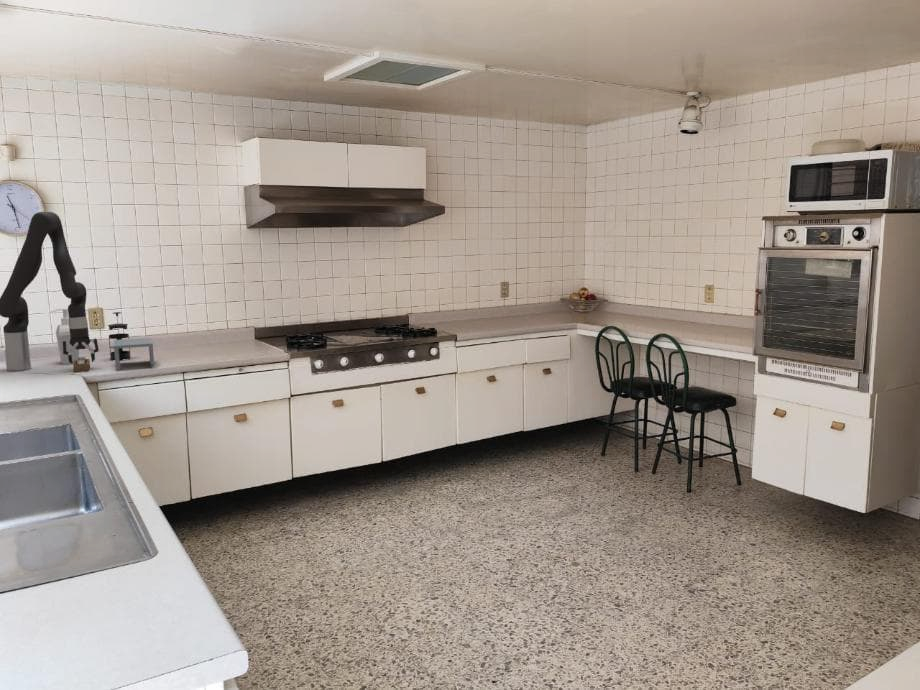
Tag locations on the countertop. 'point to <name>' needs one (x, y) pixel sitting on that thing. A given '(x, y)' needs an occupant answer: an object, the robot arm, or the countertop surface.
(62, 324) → the soap bottle
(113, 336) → the french press
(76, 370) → the tray
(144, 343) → the grey small table
